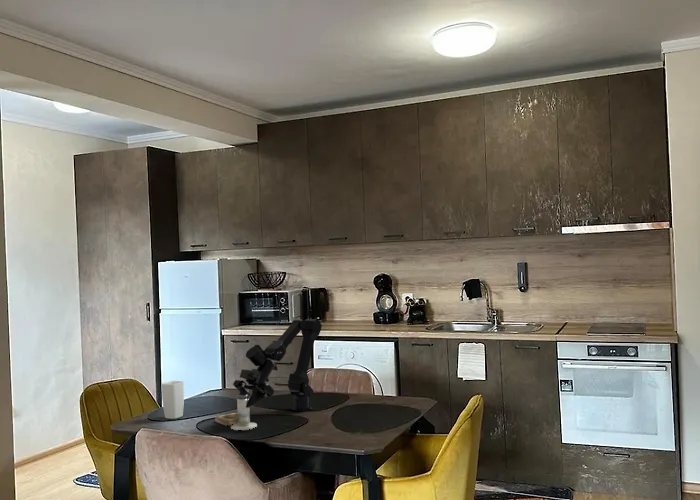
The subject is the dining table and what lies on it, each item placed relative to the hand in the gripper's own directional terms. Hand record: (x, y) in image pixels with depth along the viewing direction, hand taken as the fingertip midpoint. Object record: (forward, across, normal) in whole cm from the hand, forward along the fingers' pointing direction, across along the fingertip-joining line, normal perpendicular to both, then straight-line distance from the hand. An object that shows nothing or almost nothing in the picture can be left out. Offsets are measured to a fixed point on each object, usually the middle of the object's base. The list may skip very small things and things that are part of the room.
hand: (242, 406), depth 250 cm
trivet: (+6, 0, +6) cm, 8 cm away
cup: (+9, -38, +3) cm, 40 cm away
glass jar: (+4, 0, +5) cm, 7 cm away
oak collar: (+3, -12, +9) cm, 15 cm away
